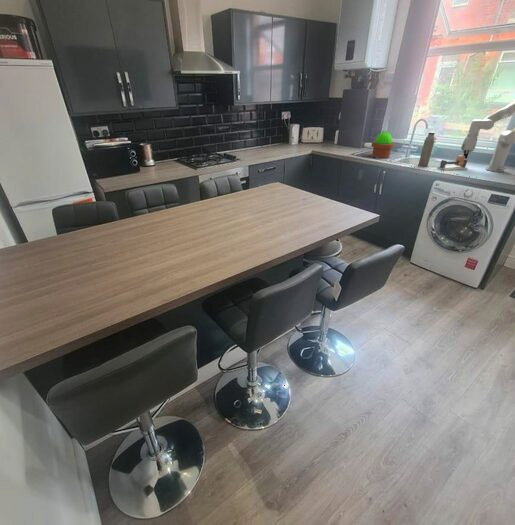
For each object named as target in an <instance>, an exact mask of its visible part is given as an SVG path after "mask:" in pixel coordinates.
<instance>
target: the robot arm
mask: <svg viewBox="0 0 515 525" xmlns="http://www.w3.org/2000/svg"><path fill="white" fill-rule="evenodd" d="M513 115H515V100H514V101H513V102H511V103H509V104H508V105H506V106H505V107H503V108H501V109H499V110H497V111H495V112H493V113H492V114H490V115H489V116H487V117H485V118H484V119H480V118H479V119H477V118H475V119H473V120H472V121H471V123H470V126H469V129H468V132H467V135H466V137H465V138H464V140H463V141H462V144H461V146H460V149H461V152H462V153H463V156H465V159H466V160H468V156H469V155H470V153H471V152H474V150H475V149H476V146H477V142H478V137H479V135H480V131H481V130H484V131H485V130H487V131H488V130H491V129H493V127H494V126H495V124H496V123H497V122H499V121H501V120H505V119H508V118H510V117H512V116H513ZM514 144H515V126H514V129H512V130H510V129H508V130H505V131H502V132H501V133H500V135H499V137H498V138H497V144H496V146H495V149H494V152H493V155H492V157H491V160H490V163H489V165H488V167H486V168H485V170H487V171H490V172H495V173H496V172H498V173H500V172H504V171H505V170H506V169H507V168H506V167H505V163H506V160H507V158H508V155H509V152H510V150H511V148H512V145H514Z"/></svg>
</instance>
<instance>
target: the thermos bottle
mask: <svg viewBox="0 0 515 525" xmlns="http://www.w3.org/2000/svg"><path fill="white" fill-rule="evenodd" d="M435 134H436V133H435V132H428V134H427V136H426V137H425V139H424V141H423V145H422V150H421V153H420V156H419V159H418V160H419V162H418V167H429V162H430V160H431V157H432V152H433V148H434V145H435V141H436V139H435V138H436V137H435Z"/></svg>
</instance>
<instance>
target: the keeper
mask: <svg viewBox="0 0 515 525" xmlns="http://www.w3.org/2000/svg"><path fill="white" fill-rule="evenodd" d="M463 155H464V154H463ZM463 155H461V154H459V155H457V157H456V159H455V161H459V163H458V164H453V166H463V163H464V159H465V156H463Z"/></svg>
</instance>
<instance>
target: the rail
mask: <svg viewBox="0 0 515 525" xmlns="http://www.w3.org/2000/svg"><path fill="white" fill-rule="evenodd" d="M458 163H459V161H456V160H454V161H452V160H450V161H447V160H444V159H442V160H441V162H440V164H439V166H436V168H437V169H439V170H441V169H442V171H444V170H445V171H463V170H465V171H466V170H468V167H467V163H468V159H464V163H463V166H457V165H454V164H458ZM447 165H448V166H447Z"/></svg>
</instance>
